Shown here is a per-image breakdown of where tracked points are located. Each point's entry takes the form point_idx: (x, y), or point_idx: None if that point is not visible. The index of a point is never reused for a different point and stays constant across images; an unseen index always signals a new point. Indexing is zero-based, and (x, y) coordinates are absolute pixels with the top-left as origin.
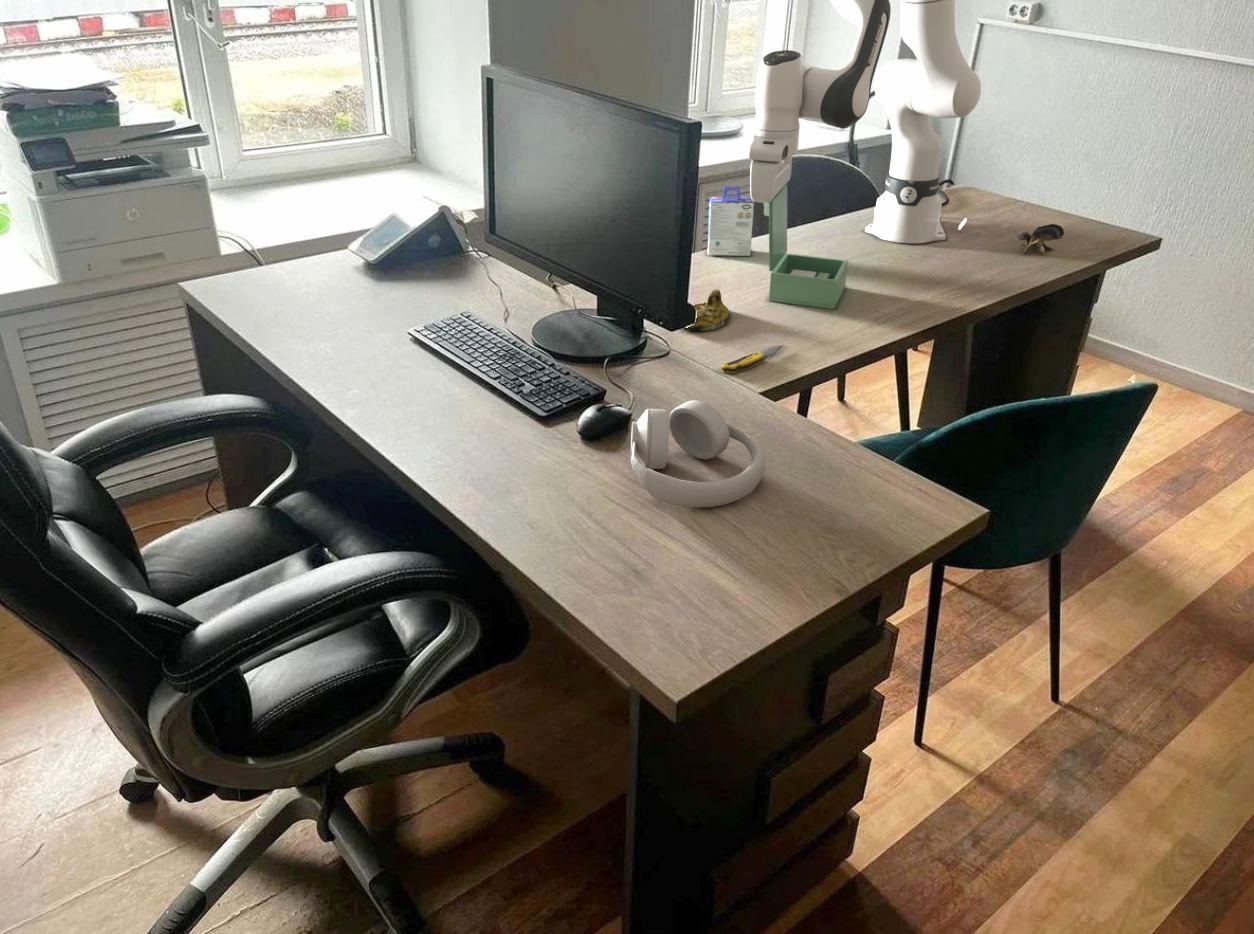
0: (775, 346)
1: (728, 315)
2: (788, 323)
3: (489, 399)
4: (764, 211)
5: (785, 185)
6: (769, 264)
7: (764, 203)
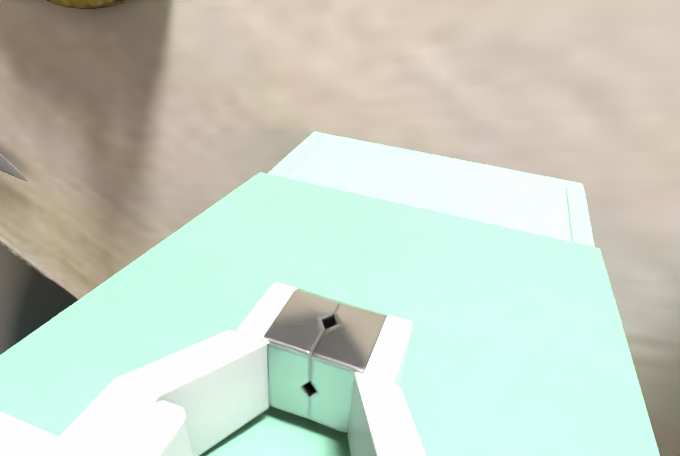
0: (3, 162)
1: (80, 7)
2: (166, 191)
3: None
4: (261, 302)
5: None
6: (242, 184)
7: (184, 357)
